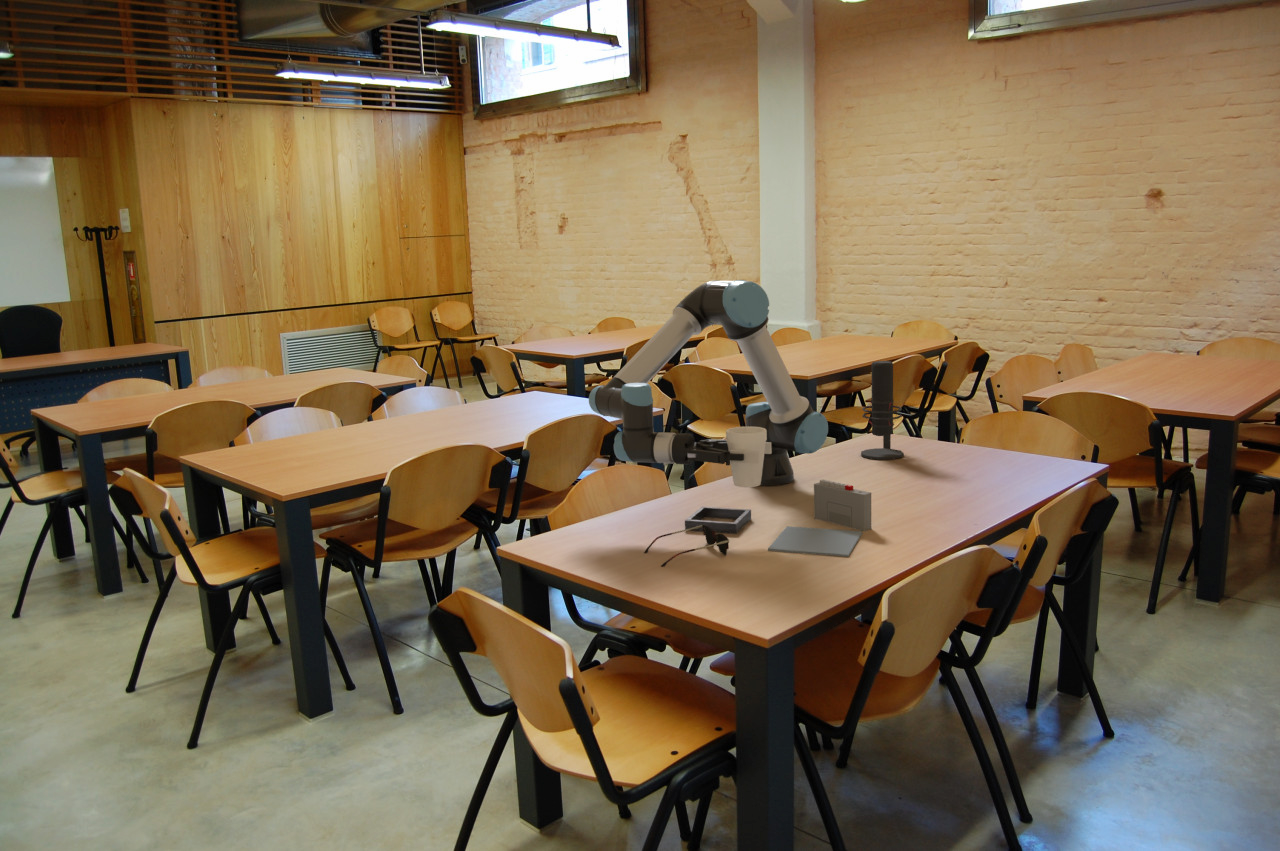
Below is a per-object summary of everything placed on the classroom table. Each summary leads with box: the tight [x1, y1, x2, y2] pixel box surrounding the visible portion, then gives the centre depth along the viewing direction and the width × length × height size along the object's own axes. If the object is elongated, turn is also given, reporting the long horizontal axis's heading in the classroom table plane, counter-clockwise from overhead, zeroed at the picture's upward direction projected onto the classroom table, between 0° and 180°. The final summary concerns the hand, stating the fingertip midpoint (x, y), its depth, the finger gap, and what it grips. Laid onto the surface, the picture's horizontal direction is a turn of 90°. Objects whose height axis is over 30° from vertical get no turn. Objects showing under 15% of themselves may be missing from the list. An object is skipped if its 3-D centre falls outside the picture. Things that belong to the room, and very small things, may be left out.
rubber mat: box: [767, 525, 863, 558], centre depth 221 cm, size 18×18×1 cm
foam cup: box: [725, 426, 767, 488], centre depth 227 cm, size 10×9×13 cm
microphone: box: [860, 360, 905, 461], centre depth 303 cm, size 14×13×30 cm
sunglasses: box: [643, 524, 730, 568], centre depth 216 cm, size 14×16×5 cm
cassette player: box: [813, 479, 872, 532], centre depth 234 cm, size 16×3×10 cm, turn 38°
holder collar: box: [684, 506, 752, 535], centre depth 238 cm, size 13×13×2 cm
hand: (764, 452), depth 225 cm, fingers closed on foam cup, 9 cm apart
